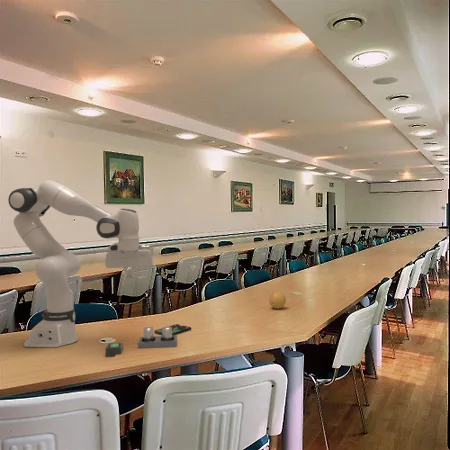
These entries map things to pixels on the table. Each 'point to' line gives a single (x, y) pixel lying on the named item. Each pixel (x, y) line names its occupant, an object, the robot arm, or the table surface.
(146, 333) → the billet
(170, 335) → the billet
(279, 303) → the stress ball
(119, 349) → the button housing
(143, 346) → the block
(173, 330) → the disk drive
